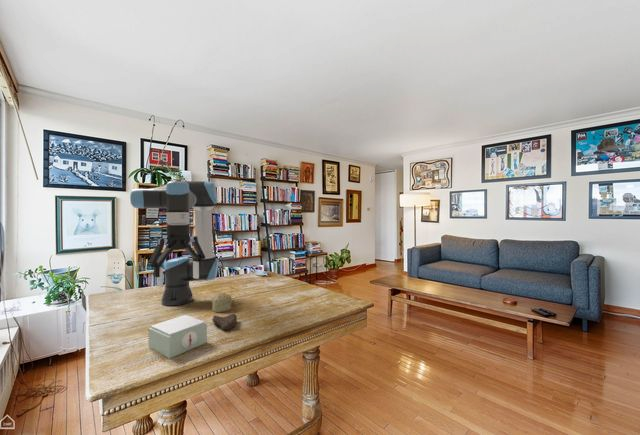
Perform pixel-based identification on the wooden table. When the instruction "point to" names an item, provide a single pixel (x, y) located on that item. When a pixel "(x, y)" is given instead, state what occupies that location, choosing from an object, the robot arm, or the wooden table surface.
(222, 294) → the decorative object
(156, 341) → the scale
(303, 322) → the wooden table surface
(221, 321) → the rock
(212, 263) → the robot arm
